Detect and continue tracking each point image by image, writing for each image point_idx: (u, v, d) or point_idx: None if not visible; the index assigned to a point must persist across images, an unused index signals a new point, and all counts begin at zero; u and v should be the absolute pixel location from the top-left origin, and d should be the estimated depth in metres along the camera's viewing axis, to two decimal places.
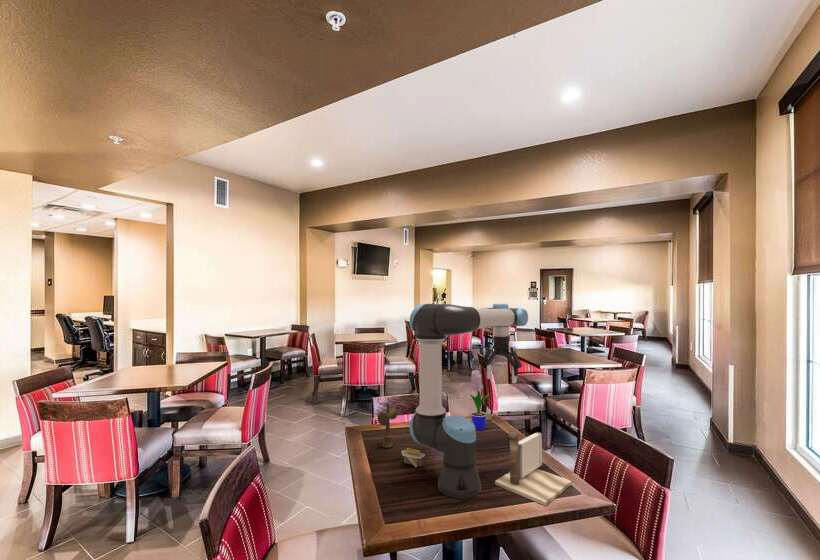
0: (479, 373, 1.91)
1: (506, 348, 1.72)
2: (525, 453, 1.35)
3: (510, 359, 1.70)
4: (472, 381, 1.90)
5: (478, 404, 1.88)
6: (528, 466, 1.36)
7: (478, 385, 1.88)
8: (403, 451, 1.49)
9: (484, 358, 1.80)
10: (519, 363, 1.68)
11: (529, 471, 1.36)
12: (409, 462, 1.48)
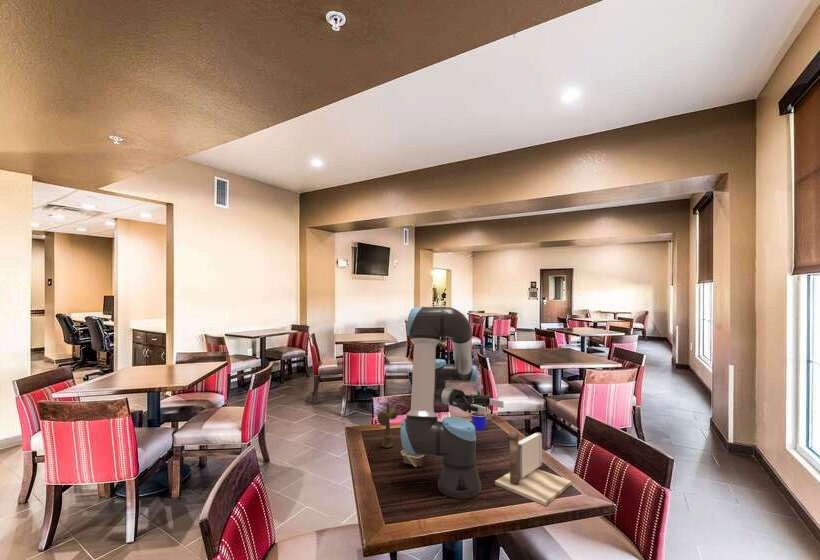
0: (480, 373, 1.91)
1: None
2: (525, 453, 1.35)
3: (480, 397, 1.62)
4: None
5: (478, 404, 1.88)
6: (528, 466, 1.36)
7: (478, 385, 1.88)
8: (402, 451, 1.49)
9: (463, 403, 1.51)
10: None
11: (529, 471, 1.36)
12: (408, 462, 1.48)
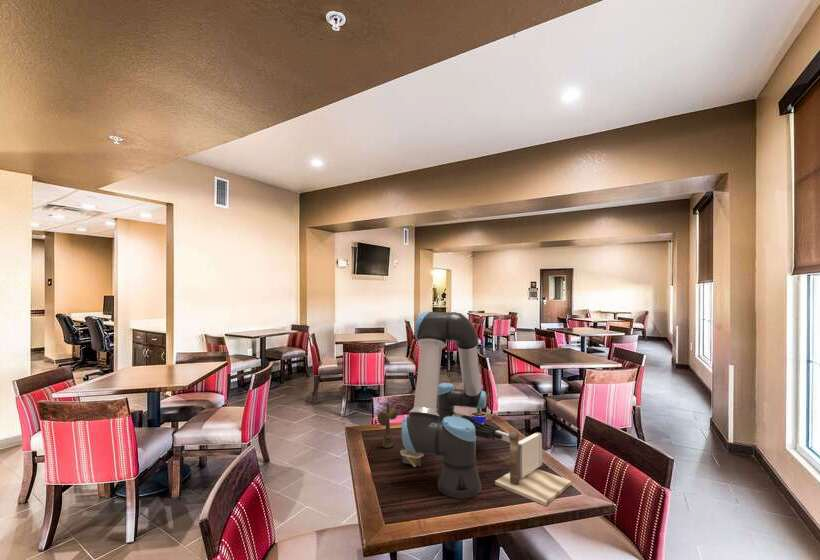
0: (479, 373, 1.90)
1: None
2: (525, 453, 1.35)
3: (488, 427, 1.55)
4: None
5: None
6: (528, 466, 1.36)
7: None
8: (402, 451, 1.49)
9: (484, 431, 1.50)
10: None
11: (529, 471, 1.36)
12: (408, 462, 1.48)
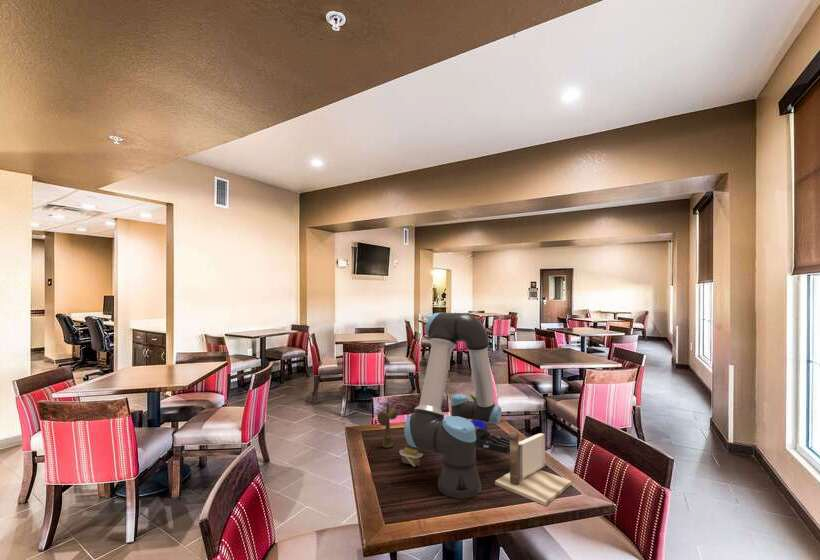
0: None
1: None
2: (526, 453, 1.35)
3: (505, 441, 1.48)
4: (472, 381, 1.90)
5: None
6: (529, 467, 1.36)
7: None
8: (401, 451, 1.49)
9: (501, 445, 1.43)
10: None
11: (530, 472, 1.36)
12: (407, 462, 1.48)
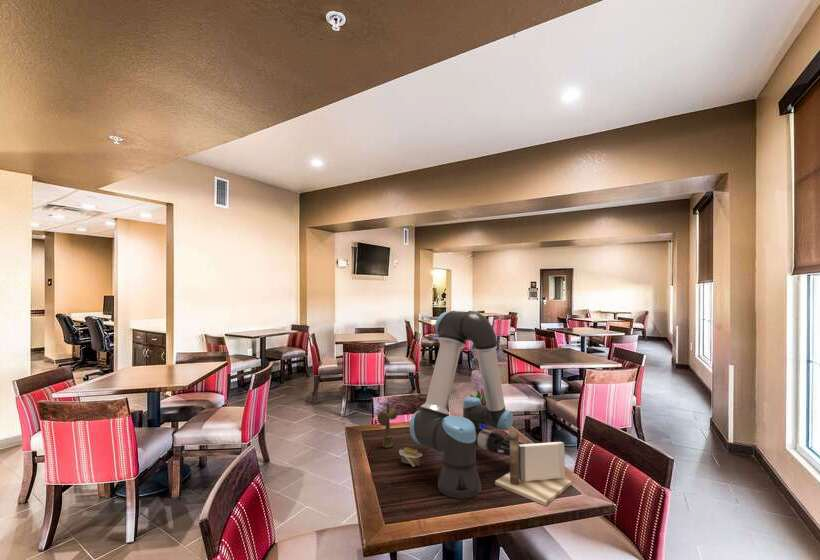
0: (479, 373, 1.91)
1: None
2: (532, 457, 1.31)
3: None
4: (472, 381, 1.90)
5: None
6: (537, 472, 1.31)
7: (478, 385, 1.88)
8: (401, 450, 1.50)
9: None
10: None
11: (539, 478, 1.31)
12: (406, 461, 1.49)
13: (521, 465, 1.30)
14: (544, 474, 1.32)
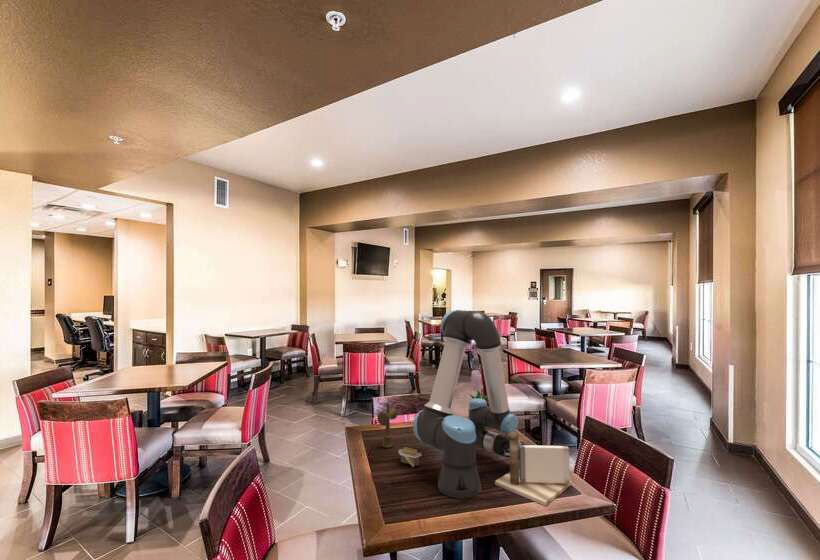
0: (480, 373, 1.91)
1: None
2: (534, 459, 1.30)
3: None
4: (472, 381, 1.90)
5: None
6: (539, 475, 1.30)
7: (478, 385, 1.88)
8: (400, 450, 1.50)
9: None
10: None
11: (540, 480, 1.29)
12: (406, 461, 1.49)
13: (521, 466, 1.30)
14: (546, 477, 1.29)
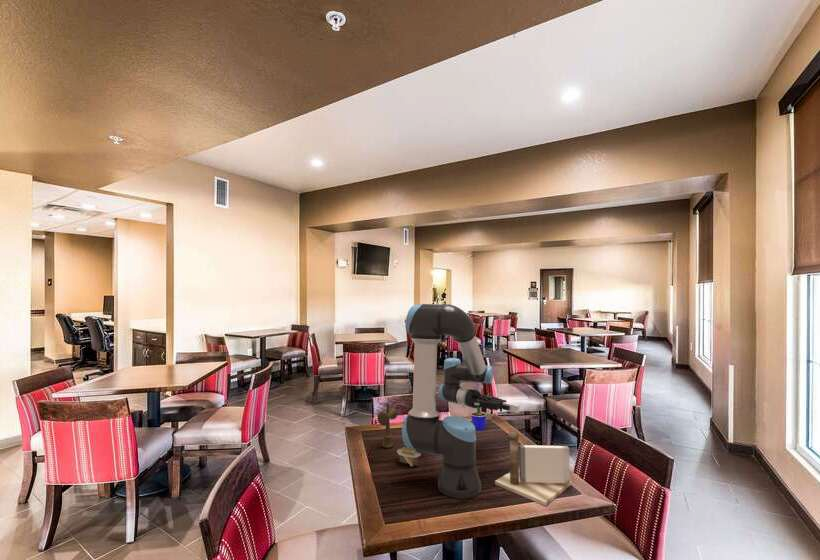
0: None
1: None
2: (534, 459, 1.30)
3: (496, 399, 1.52)
4: None
5: None
6: (538, 475, 1.30)
7: (478, 385, 1.88)
8: (399, 450, 1.50)
9: (491, 402, 1.47)
10: None
11: (540, 480, 1.29)
12: (405, 461, 1.49)
13: (521, 466, 1.30)
14: (546, 477, 1.29)
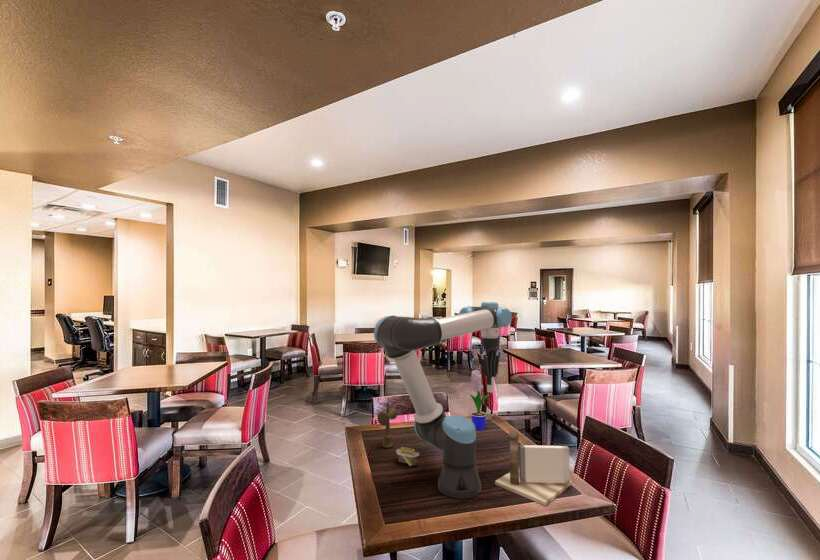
0: (479, 373, 1.91)
1: None
2: (534, 459, 1.30)
3: None
4: (472, 381, 1.90)
5: (478, 404, 1.88)
6: (538, 475, 1.30)
7: (478, 385, 1.88)
8: (398, 450, 1.50)
9: None
10: (485, 372, 1.56)
11: (540, 480, 1.29)
12: (404, 461, 1.49)
13: (521, 466, 1.30)
14: (546, 477, 1.29)
